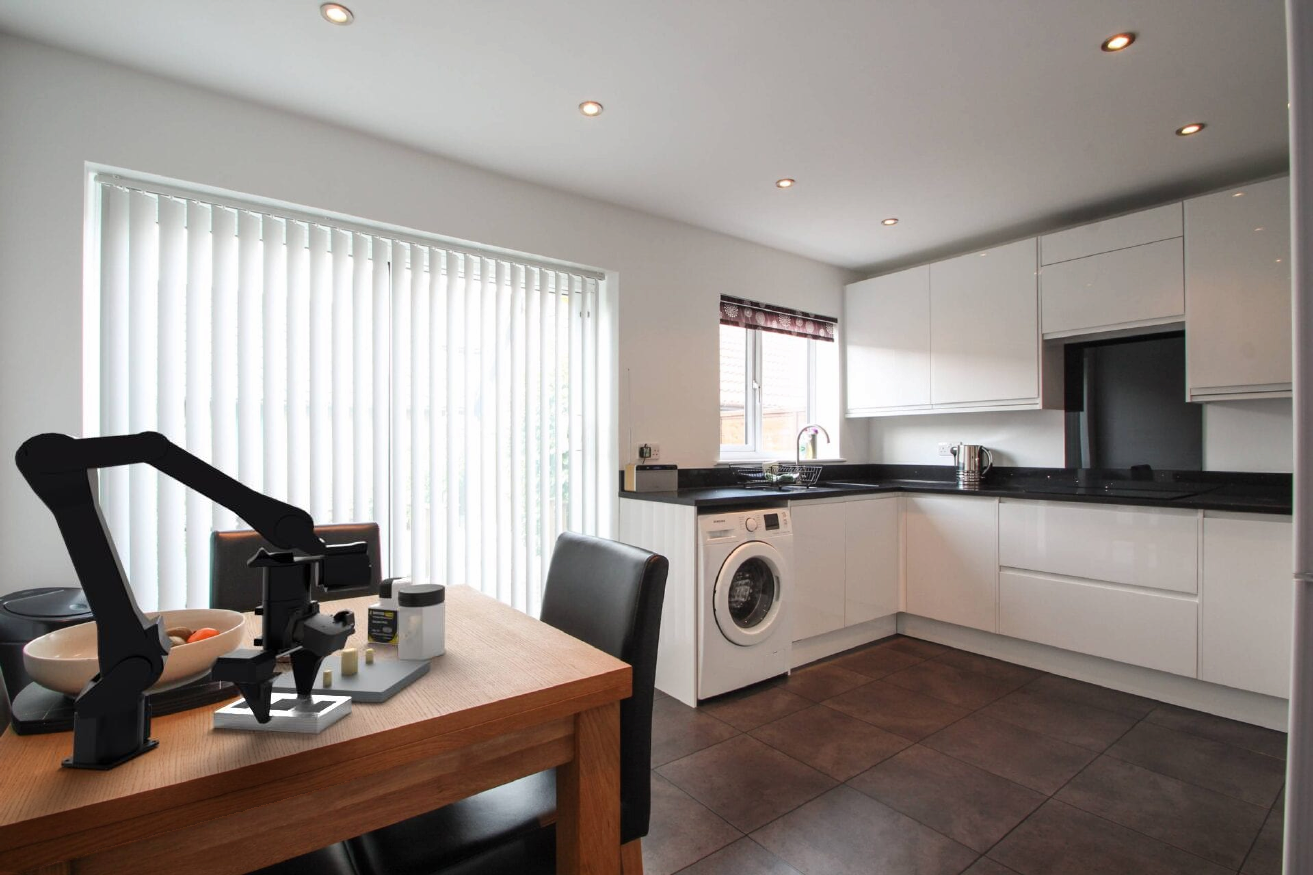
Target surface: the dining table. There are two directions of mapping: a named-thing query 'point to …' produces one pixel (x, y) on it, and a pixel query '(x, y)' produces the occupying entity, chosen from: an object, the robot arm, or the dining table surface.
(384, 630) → the medicine bottle
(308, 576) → the robot arm
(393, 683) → the post base
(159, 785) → the dining table surface
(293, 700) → the white slotted frame
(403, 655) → the jar
